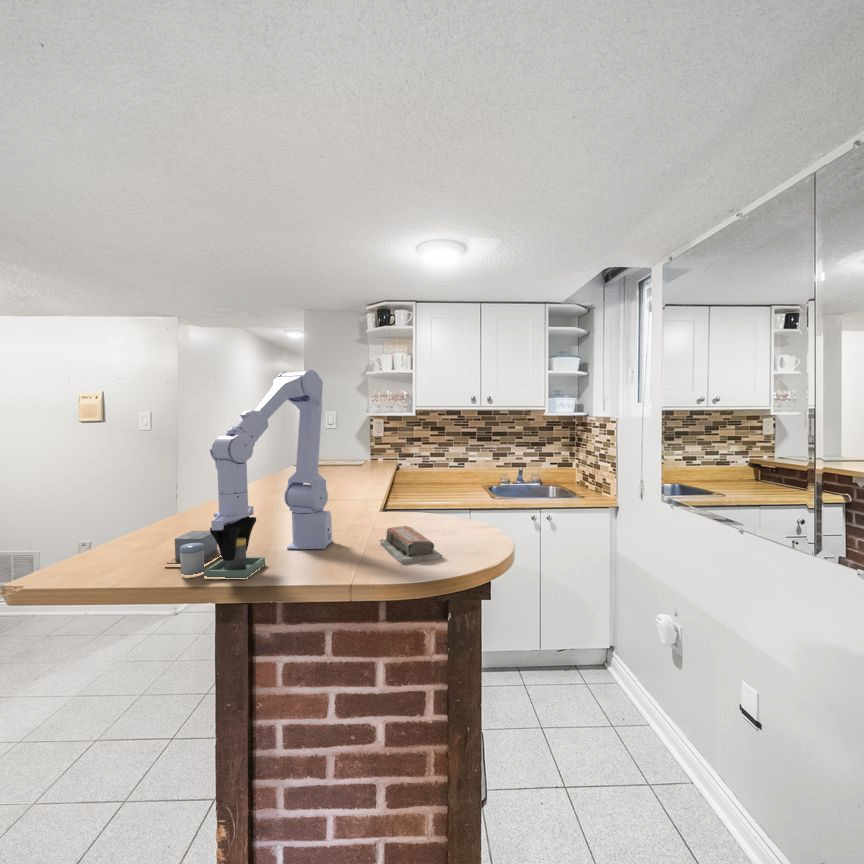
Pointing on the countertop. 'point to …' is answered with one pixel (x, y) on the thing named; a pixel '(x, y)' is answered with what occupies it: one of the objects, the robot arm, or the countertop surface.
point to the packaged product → (409, 545)
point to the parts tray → (219, 571)
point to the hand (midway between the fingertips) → (235, 555)
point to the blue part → (192, 558)
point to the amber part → (238, 556)
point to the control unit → (197, 537)
